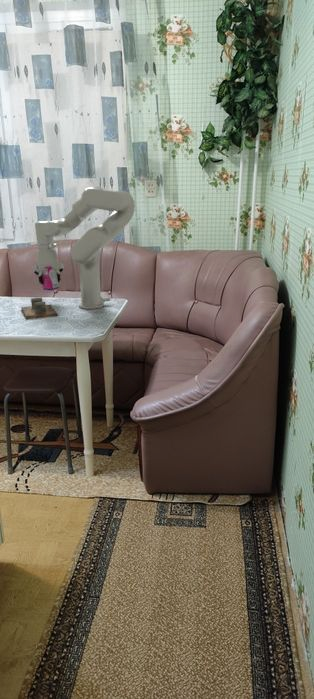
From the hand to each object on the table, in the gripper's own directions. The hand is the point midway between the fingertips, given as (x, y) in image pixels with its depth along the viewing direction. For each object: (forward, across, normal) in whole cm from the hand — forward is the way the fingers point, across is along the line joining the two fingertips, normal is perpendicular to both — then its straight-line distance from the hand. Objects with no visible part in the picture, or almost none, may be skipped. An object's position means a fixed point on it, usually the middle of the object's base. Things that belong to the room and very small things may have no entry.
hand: (50, 282), depth 254 cm
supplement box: (+3, 0, 0) cm, 3 cm away
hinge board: (+11, +9, +16) cm, 21 cm away
